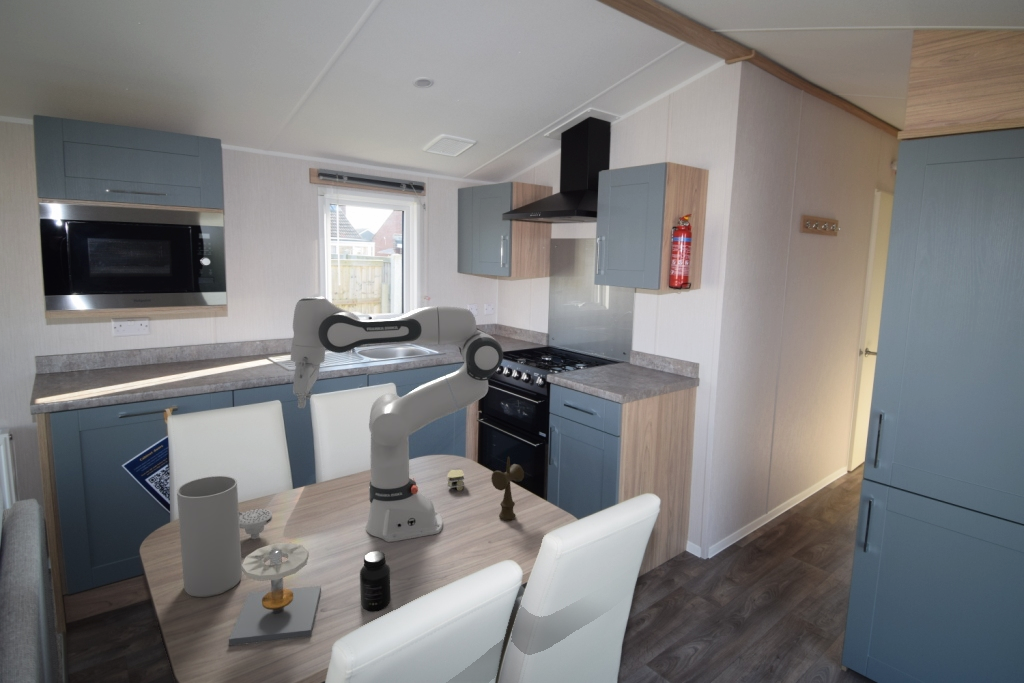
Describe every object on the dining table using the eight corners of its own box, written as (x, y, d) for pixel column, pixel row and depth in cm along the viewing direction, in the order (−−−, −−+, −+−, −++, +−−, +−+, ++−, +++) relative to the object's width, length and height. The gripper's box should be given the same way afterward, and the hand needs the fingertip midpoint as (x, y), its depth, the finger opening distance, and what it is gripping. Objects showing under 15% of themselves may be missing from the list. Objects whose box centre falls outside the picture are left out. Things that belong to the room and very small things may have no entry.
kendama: (489, 520, 169) (490, 458, 166) (510, 509, 176) (511, 450, 173) (504, 526, 165) (505, 463, 162) (524, 515, 173) (526, 455, 170)
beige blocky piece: (442, 483, 197) (443, 468, 196) (467, 482, 198) (468, 467, 197) (442, 494, 187) (442, 479, 186) (468, 494, 188) (468, 479, 187)
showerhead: (248, 503, 161) (278, 507, 159) (249, 527, 162) (280, 531, 160) (225, 518, 152) (257, 522, 150) (227, 543, 153) (259, 547, 151)
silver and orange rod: (296, 600, 126) (293, 543, 124) (290, 618, 120) (288, 558, 118) (266, 603, 125) (263, 545, 122) (259, 621, 118) (256, 561, 116)
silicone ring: (311, 545, 128) (311, 540, 128) (302, 577, 115) (302, 571, 115) (251, 550, 125) (251, 545, 125) (235, 583, 113) (235, 578, 113)
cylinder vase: (180, 603, 126) (172, 501, 122) (188, 574, 137) (181, 480, 133) (241, 591, 131) (235, 492, 127) (243, 564, 142) (238, 473, 138)
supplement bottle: (363, 595, 131) (362, 548, 129) (392, 594, 131) (392, 547, 129) (357, 613, 124) (356, 564, 122) (388, 612, 124) (387, 563, 123)
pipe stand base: (321, 591, 132) (320, 585, 131) (310, 636, 116) (310, 629, 116) (249, 598, 128) (249, 592, 128) (229, 645, 113) (228, 639, 113)
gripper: (314, 362, 142) (310, 414, 144) (324, 349, 162) (321, 394, 164) (288, 360, 141) (285, 412, 143) (302, 347, 161) (298, 393, 162)
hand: (304, 403), depth 153 cm, fingers open, 8 cm apart
